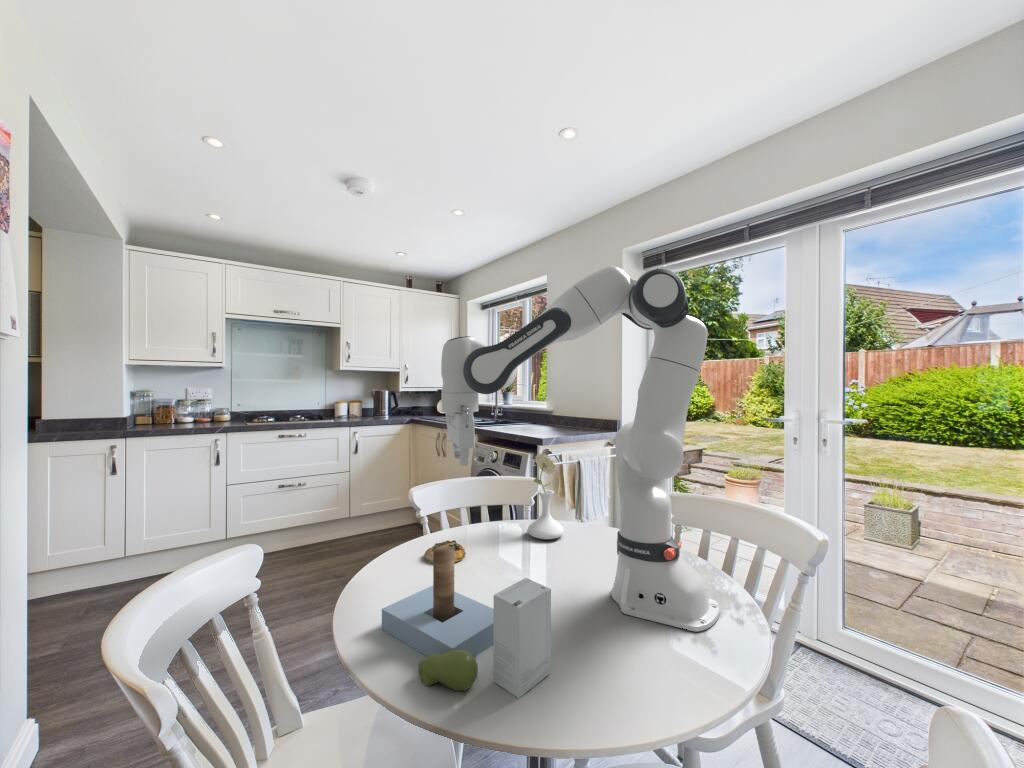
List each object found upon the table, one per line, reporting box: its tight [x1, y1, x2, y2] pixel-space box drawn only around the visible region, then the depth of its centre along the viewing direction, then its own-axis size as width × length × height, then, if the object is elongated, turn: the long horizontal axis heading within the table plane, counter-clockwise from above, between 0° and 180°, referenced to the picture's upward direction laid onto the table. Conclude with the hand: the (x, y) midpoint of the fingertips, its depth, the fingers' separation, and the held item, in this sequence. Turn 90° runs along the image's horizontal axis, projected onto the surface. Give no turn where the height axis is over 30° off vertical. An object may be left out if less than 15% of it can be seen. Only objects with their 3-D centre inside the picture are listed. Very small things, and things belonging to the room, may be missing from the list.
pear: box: [417, 650, 479, 692], centre depth 74 cm, size 6×5×10 cm
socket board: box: [381, 585, 494, 657], centre depth 89 cm, size 20×14×4 cm
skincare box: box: [492, 577, 552, 699], centre depth 75 cm, size 8×6×15 cm
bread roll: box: [423, 539, 466, 564], centre depth 125 cm, size 11×11×5 cm
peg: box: [432, 546, 455, 623], centre depth 88 cm, size 4×4×16 cm
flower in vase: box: [526, 453, 565, 540], centre depth 142 cm, size 13×11×25 cm
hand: (460, 461), depth 111 cm, fingers open, 8 cm apart
